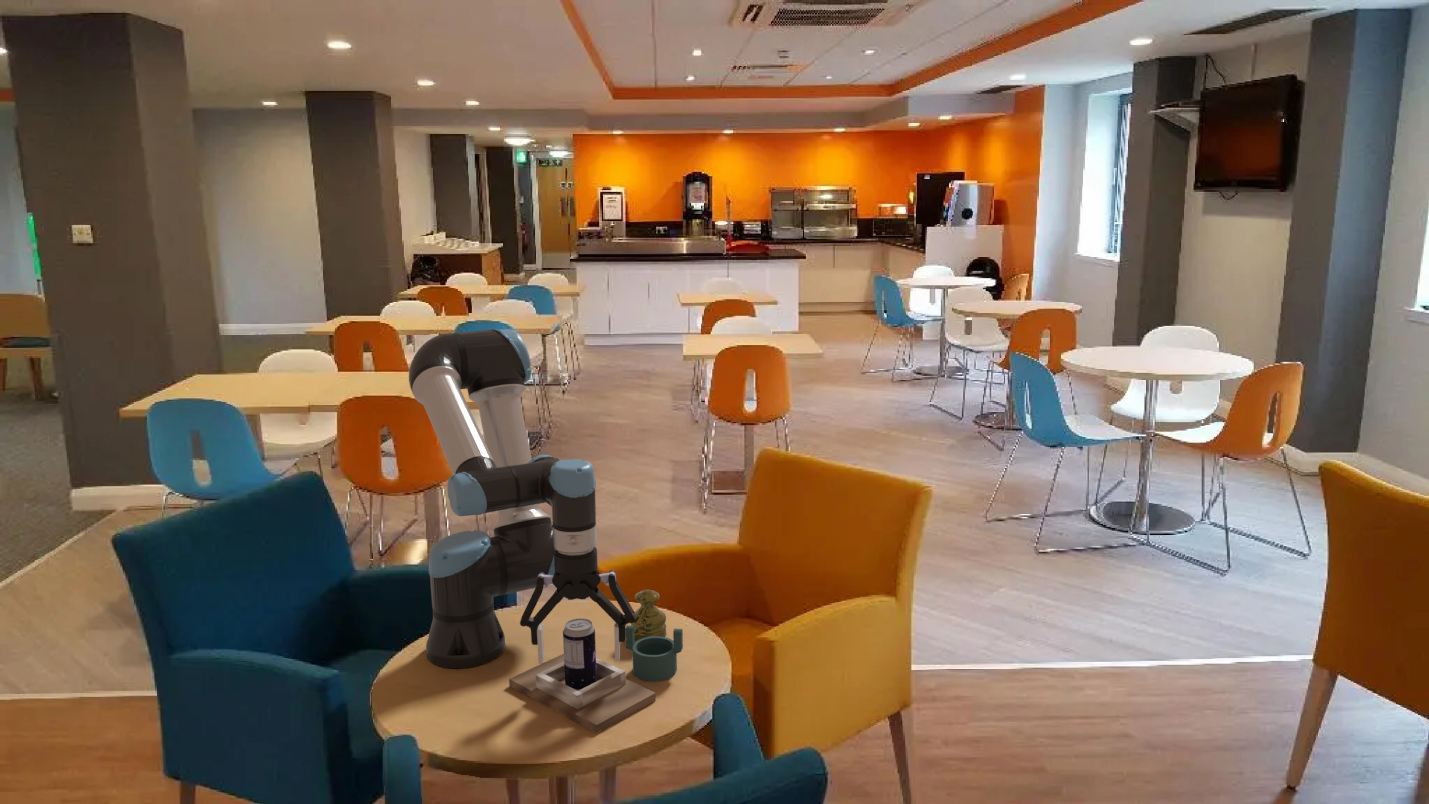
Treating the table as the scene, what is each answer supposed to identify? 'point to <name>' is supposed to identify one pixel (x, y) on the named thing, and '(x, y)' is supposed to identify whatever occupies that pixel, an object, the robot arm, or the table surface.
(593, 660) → the beverage can
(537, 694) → the can holder
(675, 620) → the table surface
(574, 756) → the table surface
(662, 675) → the teal cauldron pot
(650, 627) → the brass calibration weight
